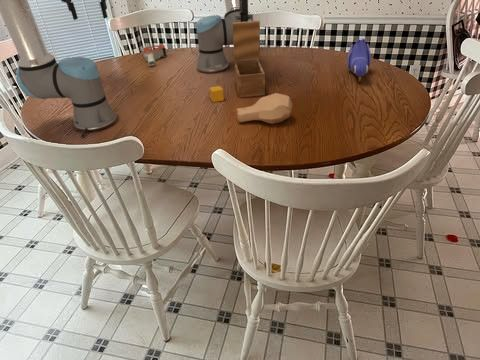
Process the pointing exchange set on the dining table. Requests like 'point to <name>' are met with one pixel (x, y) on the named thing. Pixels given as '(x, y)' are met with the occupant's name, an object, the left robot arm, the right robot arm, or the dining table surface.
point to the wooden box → (249, 78)
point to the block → (216, 94)
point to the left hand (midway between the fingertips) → (90, 18)
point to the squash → (267, 109)
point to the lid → (246, 39)
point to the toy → (359, 58)
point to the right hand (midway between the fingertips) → (244, 29)
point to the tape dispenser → (153, 53)
